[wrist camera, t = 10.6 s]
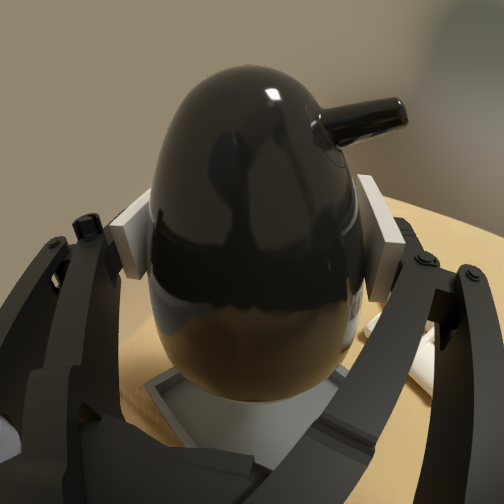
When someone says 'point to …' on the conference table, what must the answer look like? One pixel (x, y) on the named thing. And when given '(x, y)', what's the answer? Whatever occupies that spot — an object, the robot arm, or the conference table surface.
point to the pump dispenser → (259, 233)
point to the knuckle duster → (418, 356)
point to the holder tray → (239, 417)
